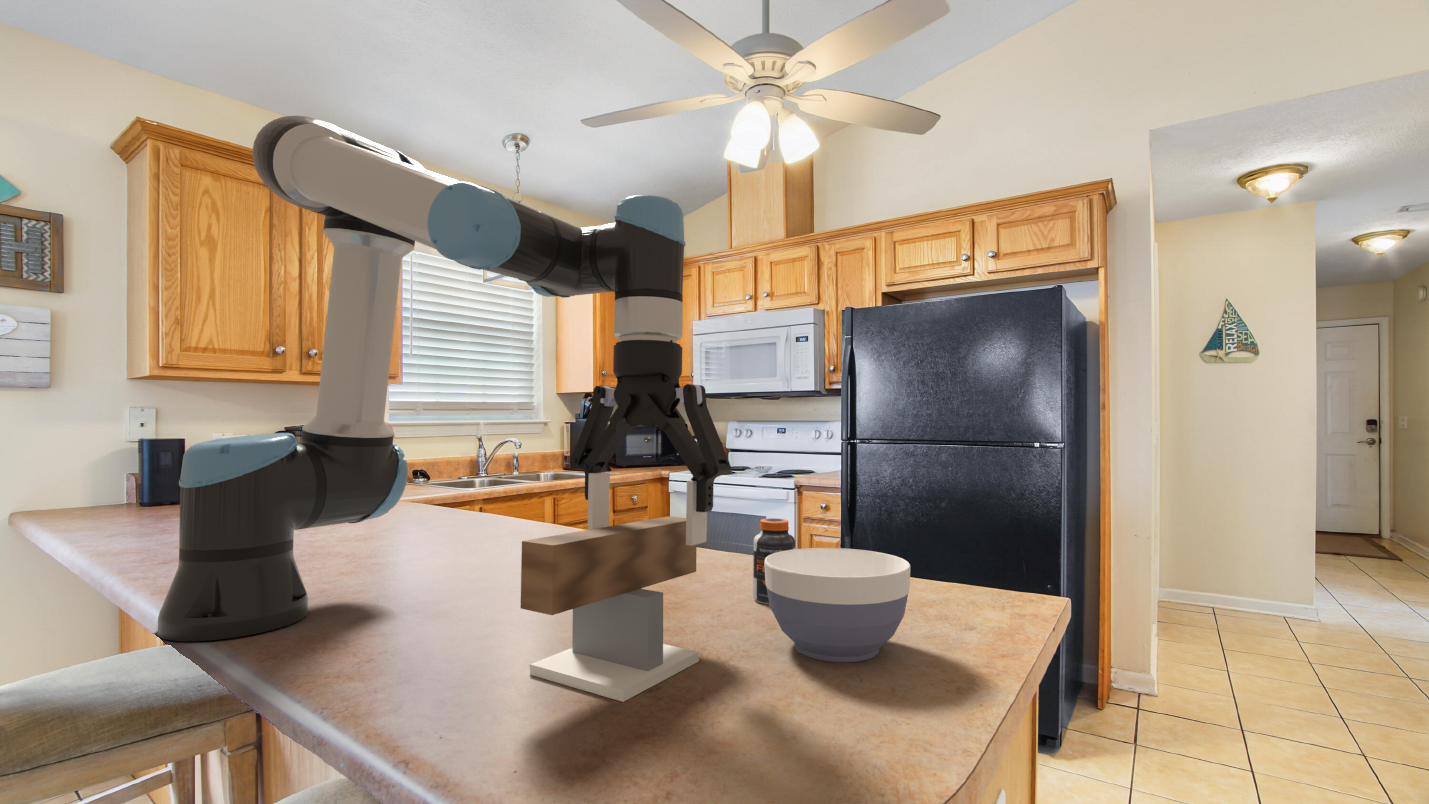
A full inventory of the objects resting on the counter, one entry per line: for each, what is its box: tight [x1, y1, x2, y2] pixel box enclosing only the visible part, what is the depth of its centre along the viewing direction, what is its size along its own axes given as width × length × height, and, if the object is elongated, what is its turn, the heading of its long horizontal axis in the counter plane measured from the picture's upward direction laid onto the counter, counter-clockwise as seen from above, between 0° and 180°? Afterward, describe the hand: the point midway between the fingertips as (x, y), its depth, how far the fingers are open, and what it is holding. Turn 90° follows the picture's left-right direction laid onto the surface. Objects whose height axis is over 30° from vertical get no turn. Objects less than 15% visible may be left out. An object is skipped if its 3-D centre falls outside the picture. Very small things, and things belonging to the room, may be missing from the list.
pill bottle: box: [752, 517, 796, 605], centre depth 93 cm, size 6×6×11 cm
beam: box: [520, 515, 697, 616], centre depth 68 cm, size 22×4×6 cm, turn 147°
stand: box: [529, 588, 700, 703], centre depth 67 cm, size 12×12×8 cm
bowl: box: [764, 547, 911, 663], centre depth 73 cm, size 16×16×10 cm
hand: (644, 536), depth 72 cm, fingers open, 13 cm apart
